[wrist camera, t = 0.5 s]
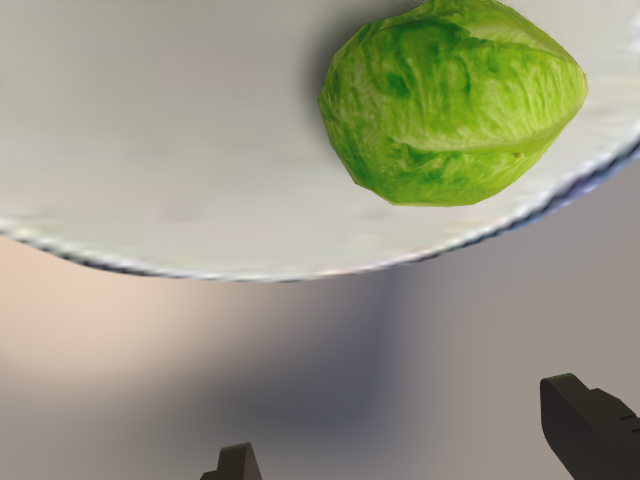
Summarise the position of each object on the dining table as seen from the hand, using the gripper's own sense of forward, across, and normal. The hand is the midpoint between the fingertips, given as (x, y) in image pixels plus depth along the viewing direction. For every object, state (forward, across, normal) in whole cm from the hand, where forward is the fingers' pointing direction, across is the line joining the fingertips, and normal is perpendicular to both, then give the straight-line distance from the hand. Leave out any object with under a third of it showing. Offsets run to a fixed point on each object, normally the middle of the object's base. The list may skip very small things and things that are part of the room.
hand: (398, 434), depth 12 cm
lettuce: (+30, -11, -8) cm, 33 cm away
